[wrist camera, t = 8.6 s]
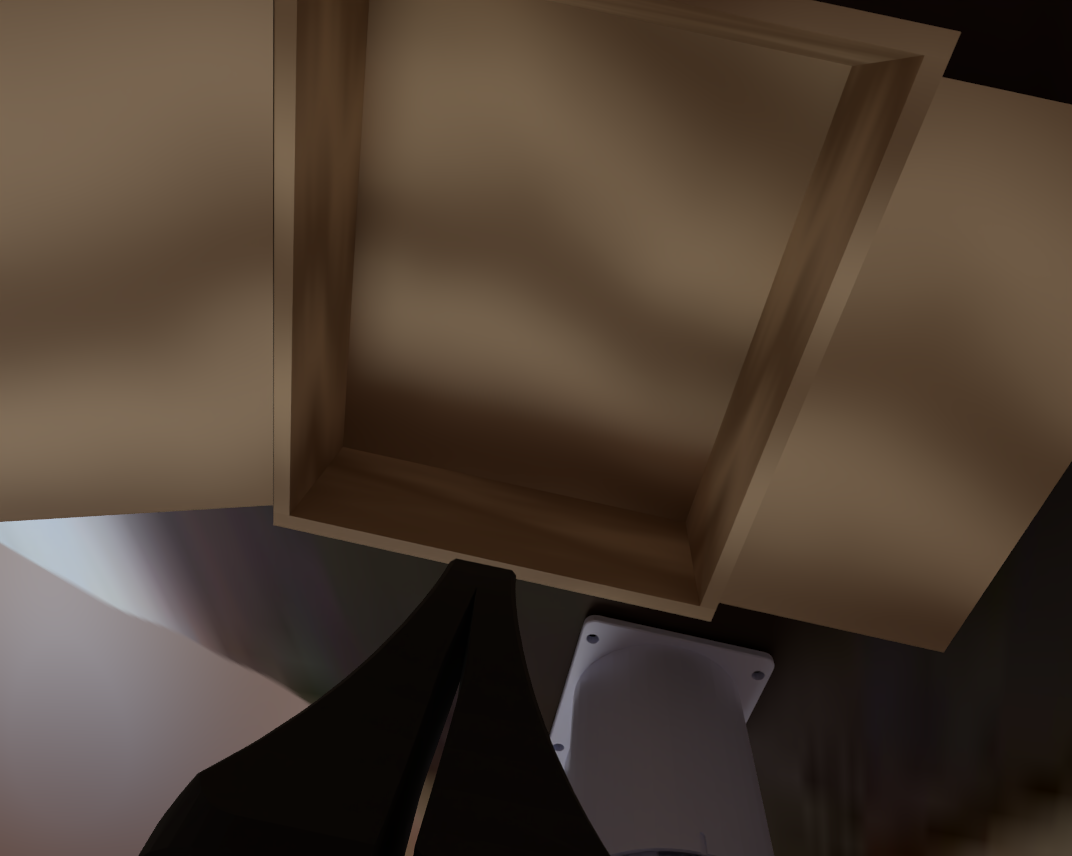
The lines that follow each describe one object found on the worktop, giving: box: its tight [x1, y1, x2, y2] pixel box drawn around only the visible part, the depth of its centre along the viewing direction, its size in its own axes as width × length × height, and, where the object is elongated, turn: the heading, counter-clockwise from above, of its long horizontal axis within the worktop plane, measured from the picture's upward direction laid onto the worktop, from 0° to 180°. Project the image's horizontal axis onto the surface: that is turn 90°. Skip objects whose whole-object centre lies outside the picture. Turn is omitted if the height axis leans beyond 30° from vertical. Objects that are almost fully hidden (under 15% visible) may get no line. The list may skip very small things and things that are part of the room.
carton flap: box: [0, 0, 273, 522], centre depth 15 cm, size 14×7×1 cm, turn 169°
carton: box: [274, 0, 1072, 652], centre depth 19 cm, size 16×21×5 cm
